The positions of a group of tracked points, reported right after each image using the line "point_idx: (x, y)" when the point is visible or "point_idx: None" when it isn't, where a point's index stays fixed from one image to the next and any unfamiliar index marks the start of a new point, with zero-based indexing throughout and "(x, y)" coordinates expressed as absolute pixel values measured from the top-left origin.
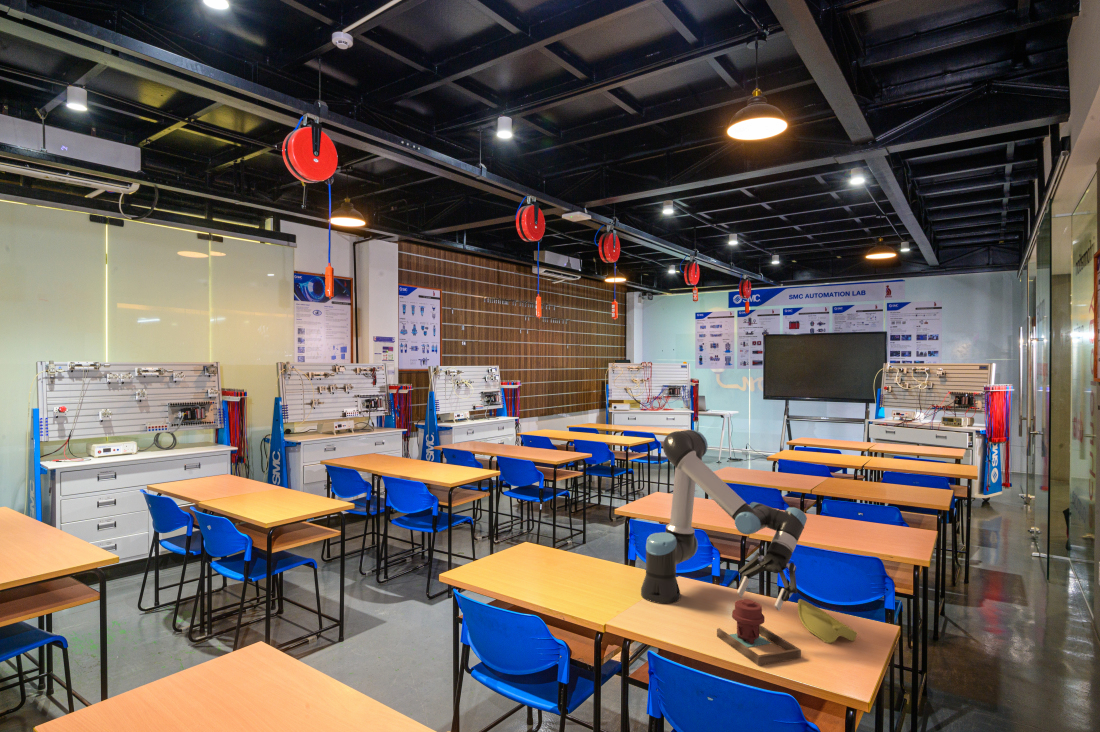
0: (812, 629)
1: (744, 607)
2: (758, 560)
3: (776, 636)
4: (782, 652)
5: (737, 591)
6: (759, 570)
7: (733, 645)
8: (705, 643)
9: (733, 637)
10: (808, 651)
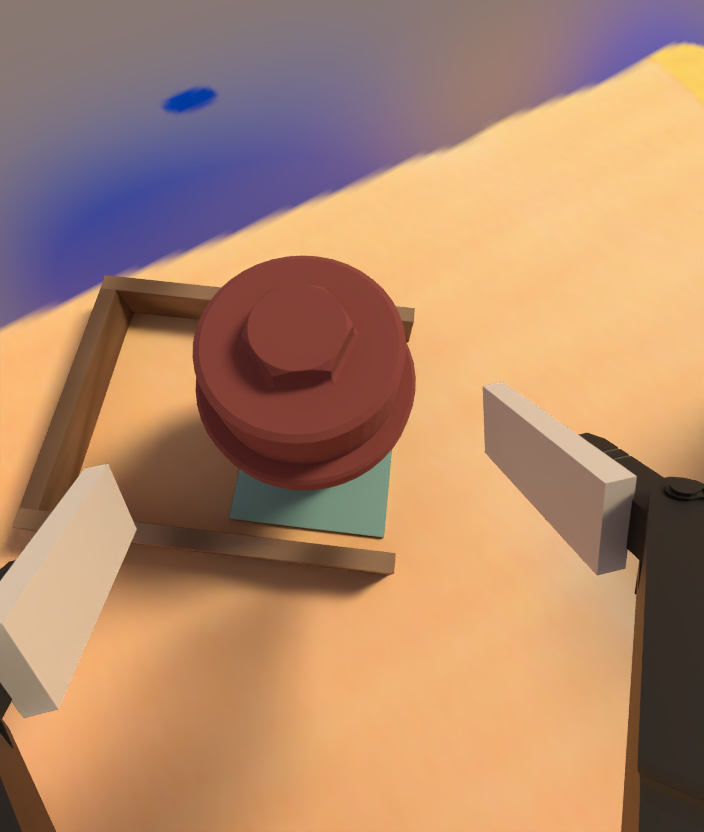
0: None
1: (268, 273)
2: None
3: (197, 533)
4: (61, 406)
5: (505, 384)
6: (633, 752)
7: None
8: (372, 246)
9: None
10: None
